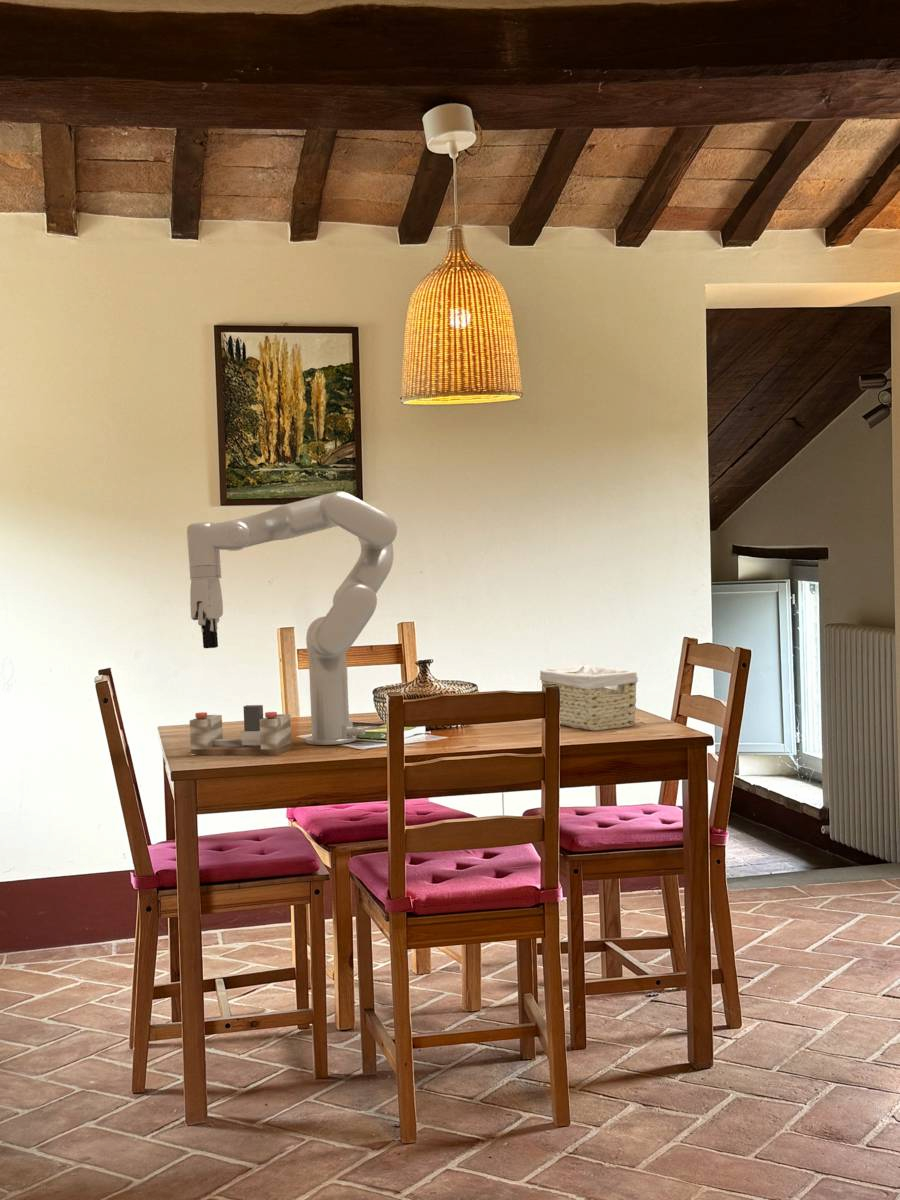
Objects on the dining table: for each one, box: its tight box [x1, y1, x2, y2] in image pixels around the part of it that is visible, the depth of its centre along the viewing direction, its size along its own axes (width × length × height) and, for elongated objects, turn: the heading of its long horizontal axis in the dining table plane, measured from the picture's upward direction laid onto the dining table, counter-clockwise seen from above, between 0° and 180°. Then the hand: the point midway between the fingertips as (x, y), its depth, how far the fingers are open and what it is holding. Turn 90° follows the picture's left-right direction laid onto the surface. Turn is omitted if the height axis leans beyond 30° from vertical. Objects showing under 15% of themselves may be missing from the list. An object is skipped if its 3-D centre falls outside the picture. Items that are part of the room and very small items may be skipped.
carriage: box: [240, 704, 264, 745], centre depth 314 cm, size 5×5×9 cm
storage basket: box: [539, 664, 639, 732], centre depth 340 cm, size 24×16×15 cm
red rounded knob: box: [194, 711, 208, 720], centre depth 314 cm, size 3×3×4 cm
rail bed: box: [189, 713, 292, 756], centre depth 315 cm, size 22×10×8 cm, turn 77°
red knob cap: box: [264, 711, 278, 719], centre depth 310 cm, size 3×3×4 cm
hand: (210, 647), depth 318 cm, fingers closed
